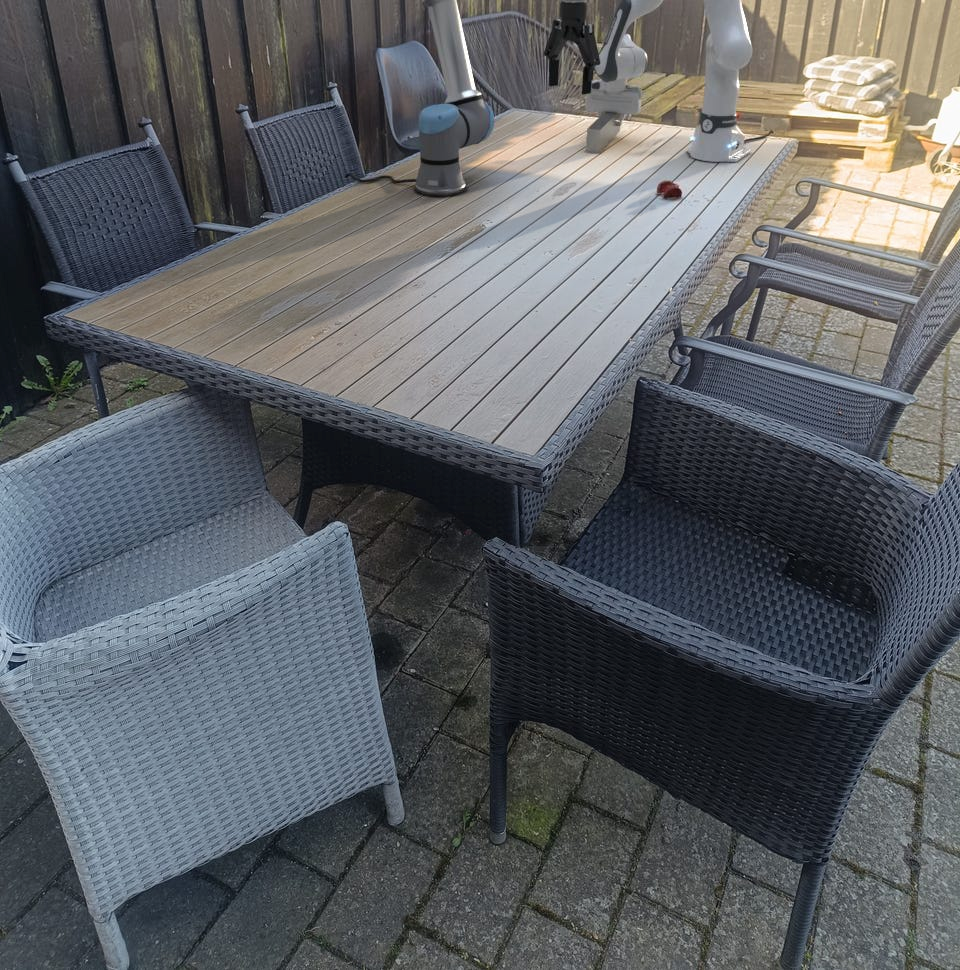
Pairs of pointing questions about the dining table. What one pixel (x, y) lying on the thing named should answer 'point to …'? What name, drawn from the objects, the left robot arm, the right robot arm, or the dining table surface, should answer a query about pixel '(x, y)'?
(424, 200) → the dining table surface
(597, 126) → the bar
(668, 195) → the dental model
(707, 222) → the dining table surface
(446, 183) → the left robot arm
